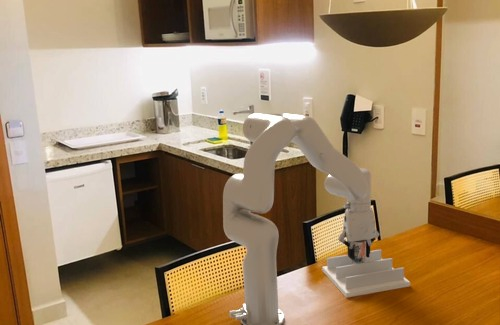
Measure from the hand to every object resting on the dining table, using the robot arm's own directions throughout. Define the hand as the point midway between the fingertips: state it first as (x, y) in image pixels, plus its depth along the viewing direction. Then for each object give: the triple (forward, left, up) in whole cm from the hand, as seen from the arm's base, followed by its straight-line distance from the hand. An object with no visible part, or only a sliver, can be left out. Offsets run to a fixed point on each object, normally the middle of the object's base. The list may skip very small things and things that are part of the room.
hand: (358, 256), depth 175 cm
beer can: (0, 0, -3) cm, 3 cm away
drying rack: (0, -4, -6) cm, 7 cm away
